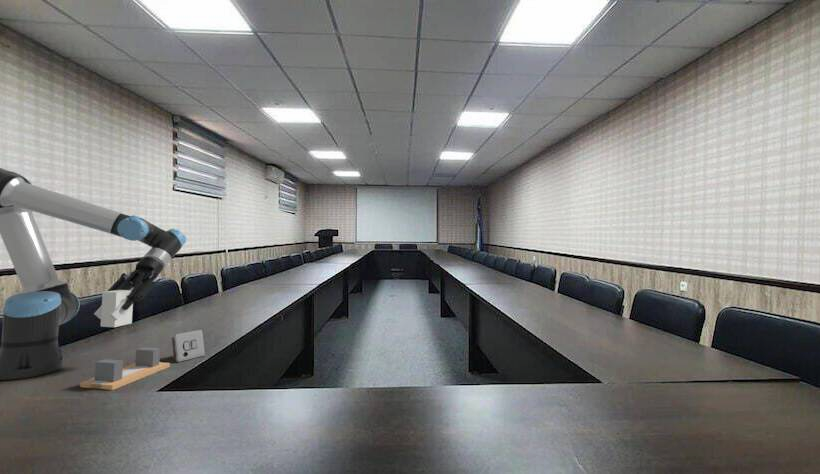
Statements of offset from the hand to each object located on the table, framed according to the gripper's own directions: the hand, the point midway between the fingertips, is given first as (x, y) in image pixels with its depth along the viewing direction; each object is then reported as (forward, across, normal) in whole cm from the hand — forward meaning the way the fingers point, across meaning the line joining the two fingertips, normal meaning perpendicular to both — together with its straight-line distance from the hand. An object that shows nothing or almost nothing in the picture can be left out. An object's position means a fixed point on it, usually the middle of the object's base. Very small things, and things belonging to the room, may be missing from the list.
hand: (105, 316), depth 109 cm
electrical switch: (+1, -17, -22) cm, 28 cm away
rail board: (+14, -13, -9) cm, 21 cm away
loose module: (0, 0, -5) cm, 5 cm away
